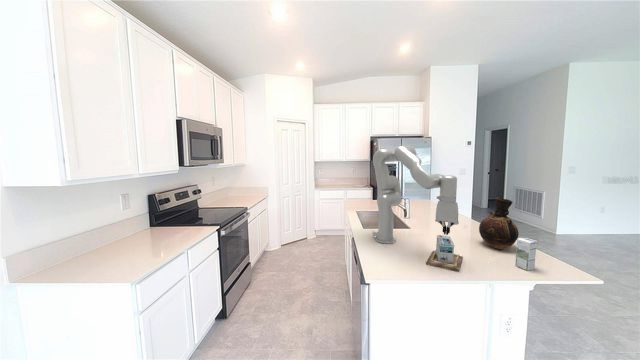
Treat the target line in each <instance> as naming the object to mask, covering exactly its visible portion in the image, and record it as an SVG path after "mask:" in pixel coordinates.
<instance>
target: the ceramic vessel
mask: <svg viewBox="0 0 640 360" xmlns="http://www.w3.org/2000/svg"><path fill="white" fill-rule="evenodd" d="M513 202H514V201H512V200H510V199H508V198H501V197H495V208H494V211H490V212H489V213H490V214H489V215H488V216H487V217H485V218H483V220H481V222H480V223H479V226H478V231H479V235H480V237H481V238H482V240H483V241H484V242H485V244H486V245H488V246H489V247H491V248H494V249H500V250H505V249H508V248H510V247H512V246H513V245H514V244H515V243H517V239H519V229H518V227H517V226H516V224H515V222H514V221H512V219H511V218H510V217H509V214H510V211H509V209H510V207H511V206H512V205H513Z"/></svg>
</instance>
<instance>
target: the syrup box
mask: <svg viewBox="0 0 640 360" xmlns="http://www.w3.org/2000/svg"><path fill="white" fill-rule="evenodd" d="M537 244H538V241H537V240H536V239H535V240H534V239H531V238H529V237H518V238H517V240H516V251H515V252H516V253H515V264H514V265H515V267H518V268H519V269H523V270H525V271H528V272H529V271H532V270H535V268H536V255H537V247H538V246H537Z"/></svg>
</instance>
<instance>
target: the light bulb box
mask: <svg viewBox="0 0 640 360" xmlns="http://www.w3.org/2000/svg"><path fill="white" fill-rule="evenodd" d="M435 248H436V249H435V250H436V254H437V257H438V260H439V262H443V263H451V264H453V254H455V243H454V242H453V240H452V238H451V236H450V235H444V234H436V245H435Z"/></svg>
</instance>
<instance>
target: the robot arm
mask: <svg viewBox="0 0 640 360" xmlns="http://www.w3.org/2000/svg"><path fill="white" fill-rule="evenodd" d="M416 154H417V151H416V148H415V147H413V146H412V145H399V146H397V147H395V148H380V149H378V150H376V151H375V152H374V154H373V157H372V165H373V168H374V171H375V179H376V186H377V189H378V190H379V191H381V192H383V193H380V194H379V195H378V196H377V198H376V202H377V210H378V214H377V215H378V217H377V218H378V224H377V225H378V226H377V229H378V230H377V232H376V231H372V236H374V237H375V241H376V242H377V243H380V244H384V245H385V244H386V245H388V244H389V245H390V244H394V243H396V238H395V237H394V217H395V216H394V210H393V208H394V207H396V206H399V205H400V204H402V203H401V202H402V199H403V196H402V190H401V189H402V188H401V184H400V180H399V179H398V177H397V176H395V175H392V174H391V175H390V172H389V167H388V165H387V164H386V163H389V162H400V163H401V164H402V165H403V166H404V167H406V168H407V170H409V173H410V175H411V178H412V179H413V181H415V182H416V184H418V185H419V186H420V187H422V188H424V189H426V190H432V189H439V195H438V196H437V195H436V200H438V201H437V203H436V209H435V219H434V221H435V222H437V223H439V224H440V225H441V227H442V233H443V235H444V236H449V234H450V233H451V227H452V226H455V225H456V226H457V225H459V223H460V221H459V205H458V202H457V189H458V177H457V176H455V175H452V174H451V175H449V174H448V175H445V174H444V175H443V174H441V173H433V174H429V173H428V172H426V171H425V170H424V169H423V168H422V167H421V164H422V159H421V158H420V157H419V156H418V155H416ZM384 191H385V192H384ZM386 191H388V192H386ZM392 207H393V208H392ZM446 223H447V225H446Z"/></svg>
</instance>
